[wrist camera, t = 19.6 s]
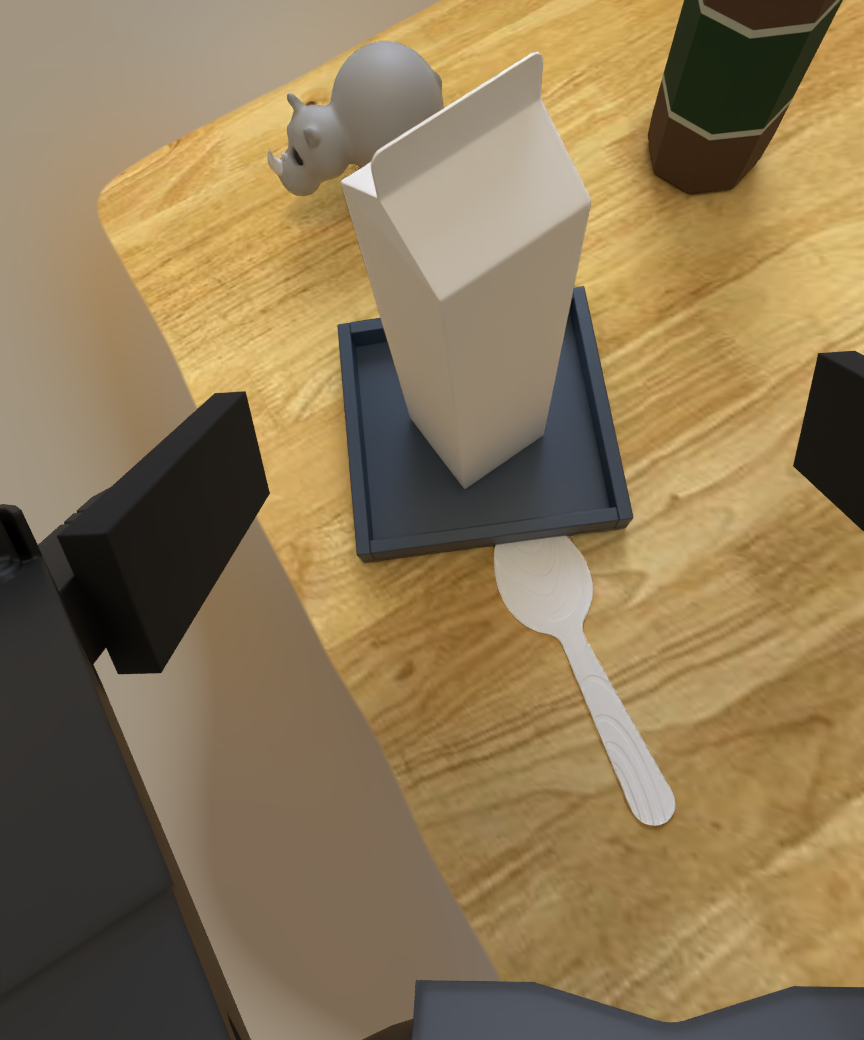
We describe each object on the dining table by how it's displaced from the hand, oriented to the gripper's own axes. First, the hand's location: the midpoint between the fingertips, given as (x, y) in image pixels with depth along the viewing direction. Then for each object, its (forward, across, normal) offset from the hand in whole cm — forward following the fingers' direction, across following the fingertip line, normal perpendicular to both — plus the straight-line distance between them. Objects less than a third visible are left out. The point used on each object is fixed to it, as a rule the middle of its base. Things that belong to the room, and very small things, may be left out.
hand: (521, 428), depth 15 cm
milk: (+22, -1, -9) cm, 24 cm away
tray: (+23, -1, -9) cm, 24 cm away
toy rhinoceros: (+36, -8, +5) cm, 38 cm away
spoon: (+13, +4, -19) cm, 23 cm away
